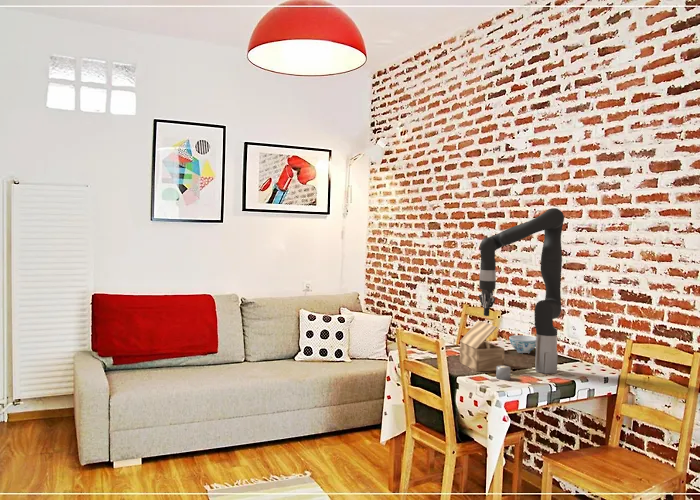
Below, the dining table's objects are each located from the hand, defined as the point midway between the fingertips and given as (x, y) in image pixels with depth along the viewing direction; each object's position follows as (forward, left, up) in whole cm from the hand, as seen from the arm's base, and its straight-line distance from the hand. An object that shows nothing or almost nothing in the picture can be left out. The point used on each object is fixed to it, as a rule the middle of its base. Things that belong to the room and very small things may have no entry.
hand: (486, 315), depth 288 cm
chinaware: (+25, -35, -24) cm, 49 cm away
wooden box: (0, +2, -24) cm, 24 cm away
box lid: (0, +4, -9) cm, 10 cm away
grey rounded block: (-23, +3, -24) cm, 33 cm away
